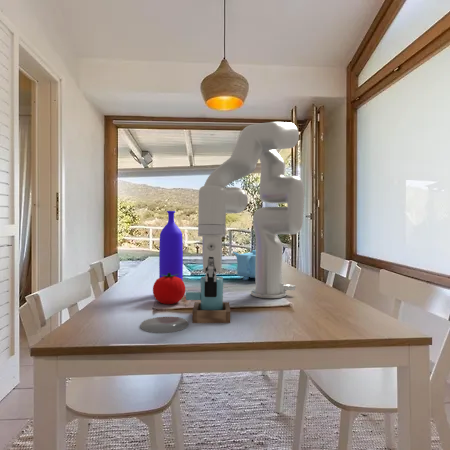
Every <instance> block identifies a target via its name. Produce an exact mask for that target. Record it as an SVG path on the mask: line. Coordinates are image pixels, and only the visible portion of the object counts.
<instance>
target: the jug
mask: <svg viewBox="0 0 450 450" xmlns="http://www.w3.org/2000/svg"><path fill="white" fill-rule="evenodd" d="M205 282H206V275H205V276H201V277H200V291H185V300H186V301H200V302H201V310H223V302H224V277H223V276H220V275H219V276H218V275H216V282H217V296H216V297H205V296H204V292H205Z"/></svg>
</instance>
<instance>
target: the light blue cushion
mask: <svg viewBox="0 0 450 450" xmlns="http://www.w3.org/2000/svg"><path fill="white" fill-rule="evenodd" d="M232 253H233V254H234V255H235V257H236V262H237V275H236V276H237V277H243V278H242V281H248V280H249V277H250V279H255V278H256V249H253V250H252V251H251V252H246V253H238V252H235V251H232Z"/></svg>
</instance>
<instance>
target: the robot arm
mask: <svg viewBox="0 0 450 450" xmlns="http://www.w3.org/2000/svg"><path fill="white" fill-rule="evenodd" d="M299 135H300V133H299V130H298V127H297V126H296V125H295V124H294V123H293V122H287V121H285V122H284V121H270V122H262V123H254V124H250V125H247V126H246V127H244V128H243V129H242V130H241V132H240V135H239V137H238V139H237V141H236V144H235V146H234V148H233V151H232V153H231V155H230V157H229V158H228V159H227V160H225V161H224V162H223V163H222V164H220V165H219V166H218V167H217V168H216V169H214V170H213V171H212V172H211V173H210V174H209V175H208V177H207V179H206V180H205V182H204V185H203V186H201V187H200V188H199V190H198V222H197V223H198V224H197V226H198V227H197V236H198V237H201V238H202V241H201V242H202V243H201V244H202V247H201V248H202V249H201V251H202V256H201V257H202V258H201V259H202V268H203V271H202V272H203V273H204V274H205V276H206V282H205V292H204V296H205V297H216V296H217V282H216V276H217V273H218V274H221V273H222V265H223V263H222V262H223V260H222V259H223V240H222V239H223V238H224V237H226V225H227V224H226V221H227V219H226V217H227V214H238V213H242V212H243V211H244V210H246V208H247V206H248V201H249V198H248V195H247V193H246V191H244V190H243V189H242V188H240V187H236V186H235V187H233V186H231V187H229V186H228V185H230V184H231V183H234V182H236V181H238V180H240V179H243V178H245V177H247V176H249V175H251V174H252V173H254V171H255V169H256V167H257V164H258V162H260V178H259V180H260V181H259V199H260V200H261V201H262V202H263V203H266V204H287V206H264V207H260V208H258V209H257V210H255V212H254V213H253V217H252V224H253V229H254V235H255V236H254V237H255V250H256V278H254V280H255V287H254V289H252V290H250V295H251V296H253V297H256V298H261V299H280V298H285V297H286V296H287V291H296V284H290V283H289V284H288V283H286V284H285V283H284V282H283V244H282V242H281V240H280V237H279V236H277V235H296V234H299V233H300V232H301V230H302V227H303V221H304V206H305V205H304V204H305V185H304V182H303V180H302V178H300V177H299V176H296V175H285V168H286V167H285V162H284V159H283V157H281V155H280V154H279V153H278V151H277V150H285V149H294V148H295V147H296V145H297V144H298V142H299V139H300V137H299ZM226 186H227V187H226Z"/></svg>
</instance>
